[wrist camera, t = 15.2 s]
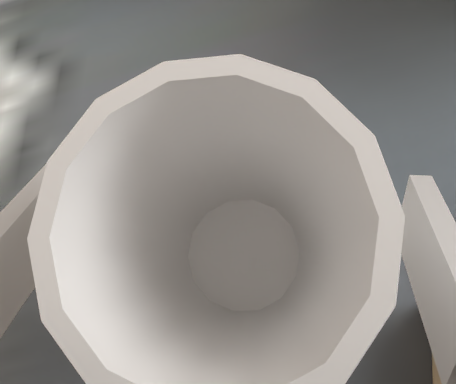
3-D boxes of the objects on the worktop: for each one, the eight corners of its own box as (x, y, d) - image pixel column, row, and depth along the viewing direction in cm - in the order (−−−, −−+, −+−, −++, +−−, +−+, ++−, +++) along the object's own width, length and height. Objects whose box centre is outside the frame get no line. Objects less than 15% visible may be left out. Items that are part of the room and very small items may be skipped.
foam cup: (324, 166, 24) (381, 39, 11) (341, 340, 22) (433, 427, 9) (157, 178, 25) (34, 74, 12) (160, 346, 23) (17, 433, 10)
